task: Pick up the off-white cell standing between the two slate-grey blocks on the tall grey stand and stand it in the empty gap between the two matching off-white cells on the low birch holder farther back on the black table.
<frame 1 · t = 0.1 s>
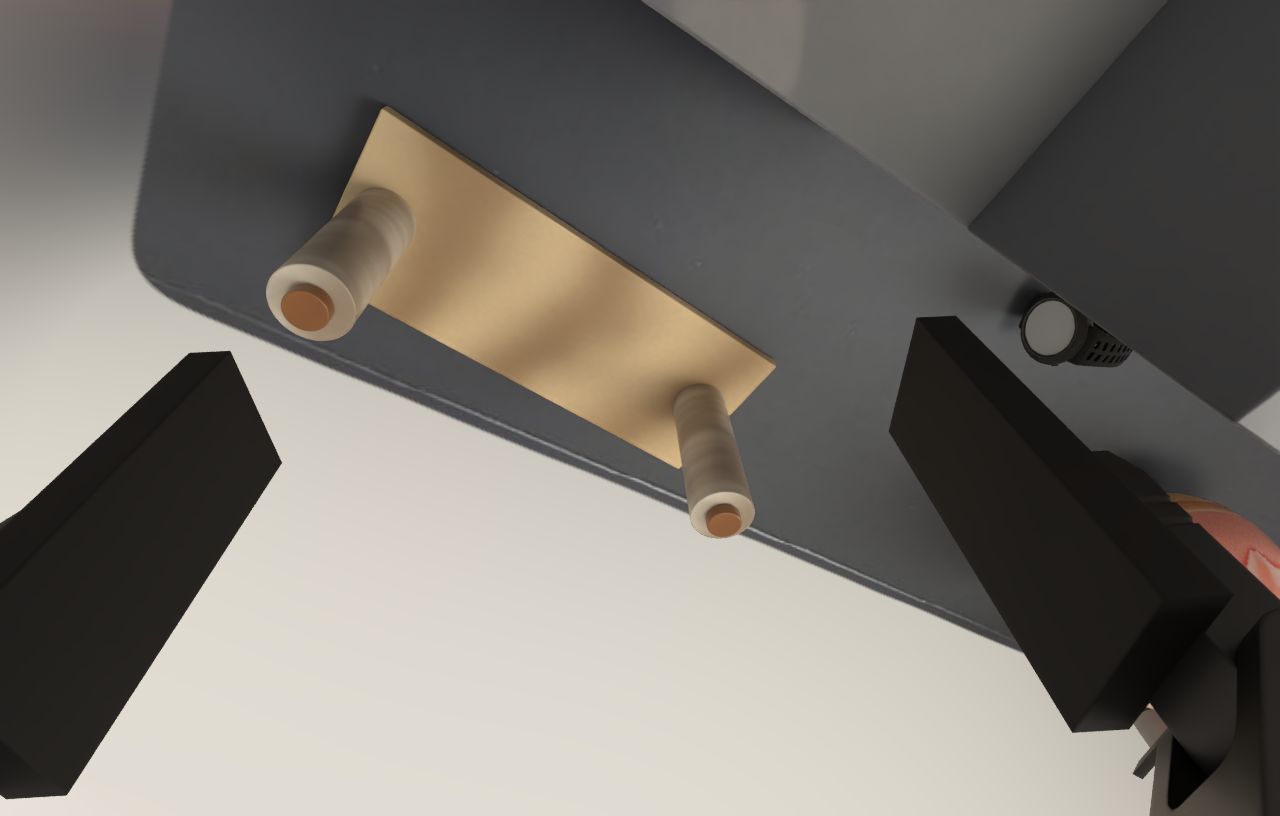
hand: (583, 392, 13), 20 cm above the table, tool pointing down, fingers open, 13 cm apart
smartwatch: (1044, 311, 35), on the table
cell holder: (558, 315, 34), on the table
battery: (1091, 635, 53), on the table
vase: (1094, 526, 46), on the table
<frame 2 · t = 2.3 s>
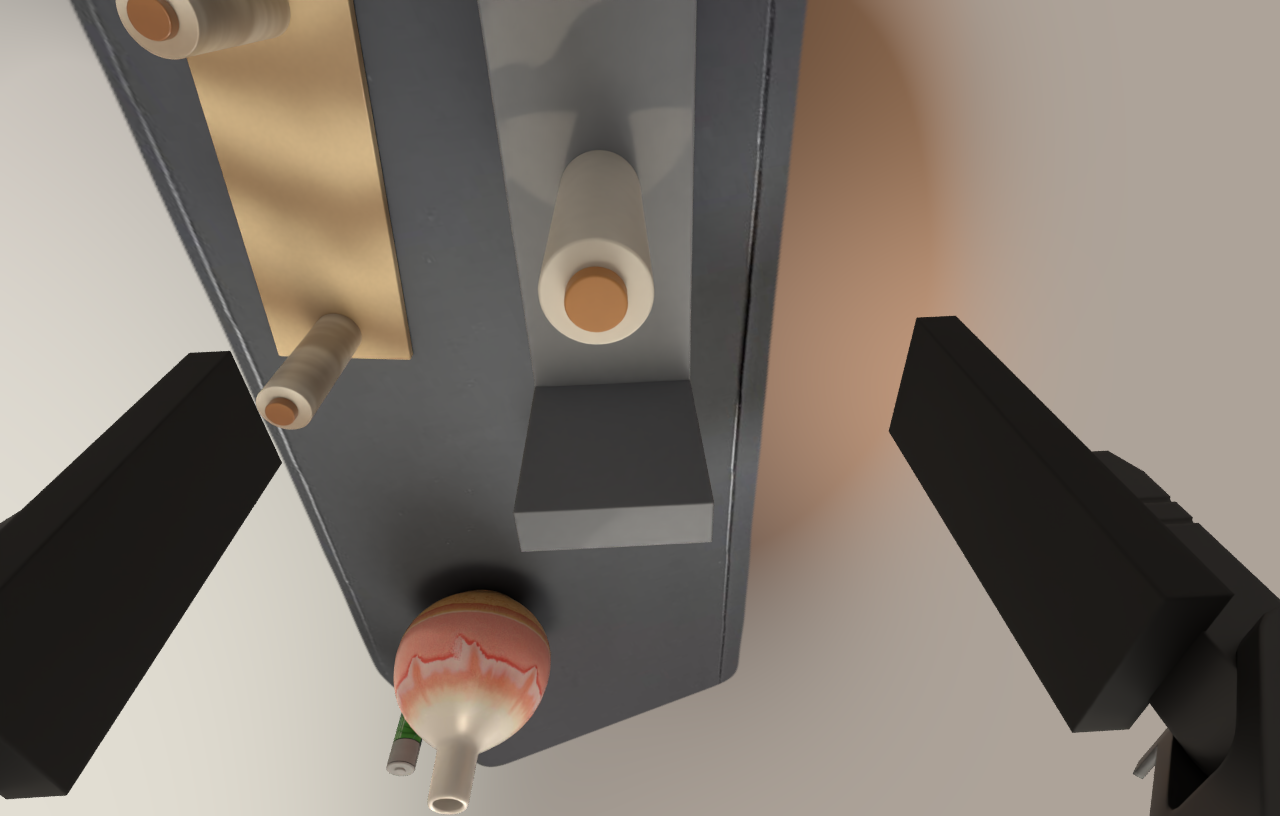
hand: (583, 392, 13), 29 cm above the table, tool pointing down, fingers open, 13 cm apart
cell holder: (310, 188, 39), on the table
battery: (423, 679, 69), on the table
grey stand: (603, 110, 37), on the table
white cell: (600, 191, 24), point 16 cm above the table, touching grey stand
vase: (485, 609, 62), on the table
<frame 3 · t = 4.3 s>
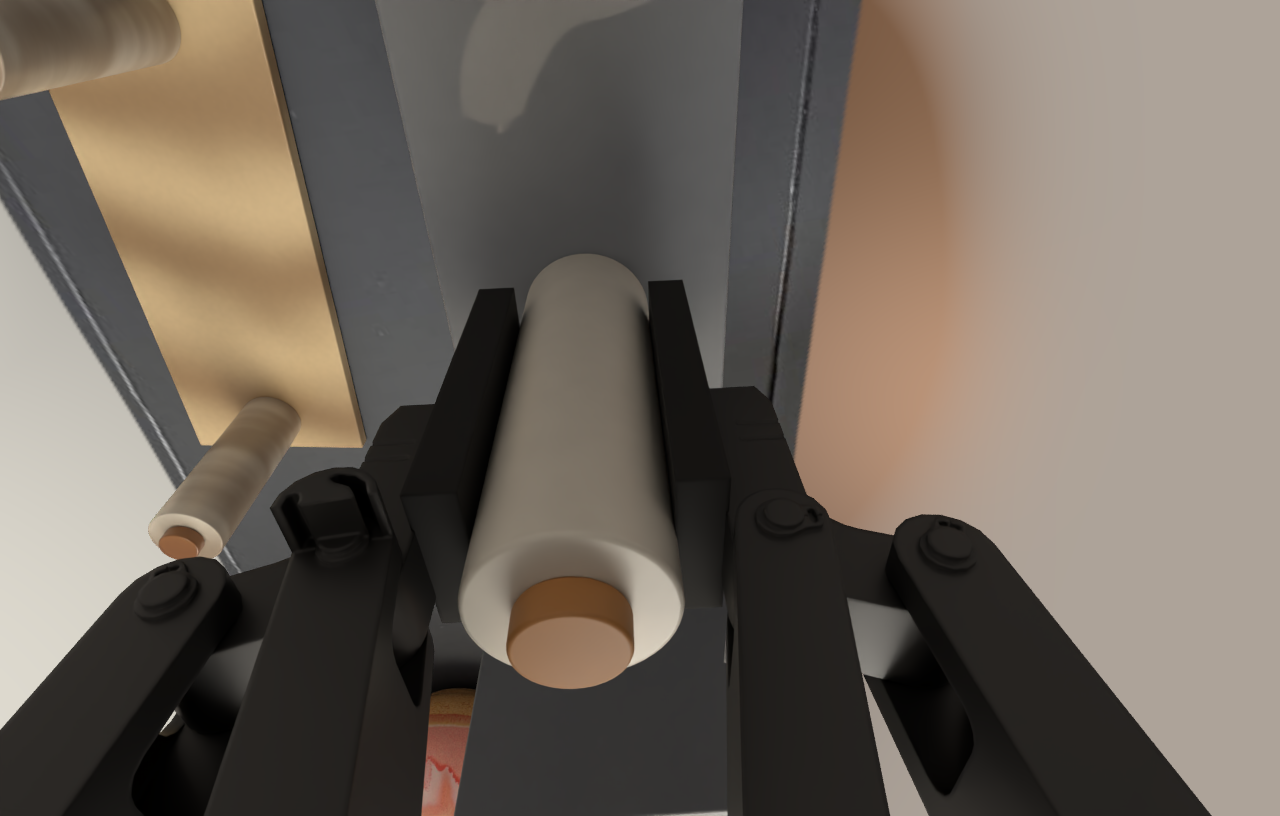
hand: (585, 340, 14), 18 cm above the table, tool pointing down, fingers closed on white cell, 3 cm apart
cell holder: (226, 249, 31), on the table
grey stand: (595, 153, 29), on the table
white cell: (587, 310, 16), point 16 cm above the table, touching grey stand, gripper
vase: (463, 705, 54), on the table
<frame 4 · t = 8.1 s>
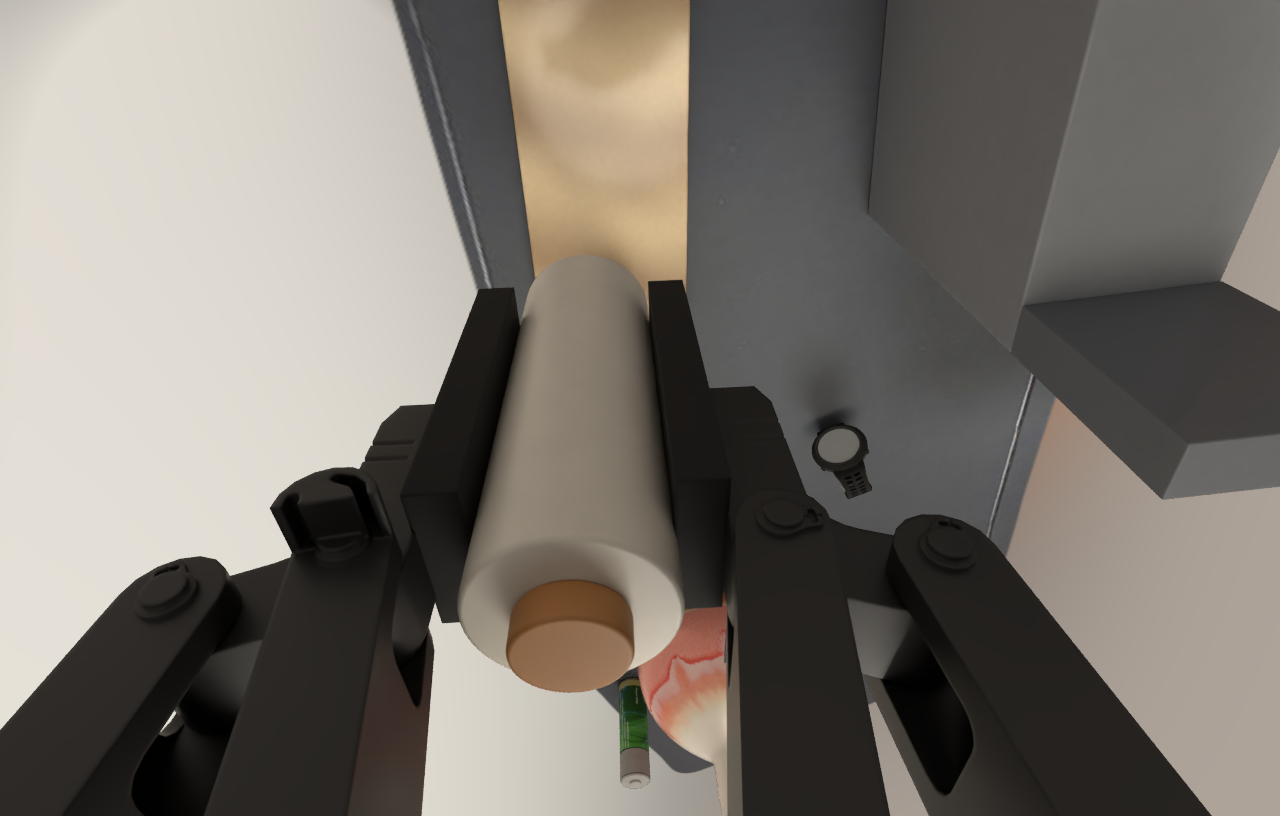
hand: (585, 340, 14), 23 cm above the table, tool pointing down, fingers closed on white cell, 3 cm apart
smartwatch: (829, 438, 47), on the table
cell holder: (602, 124, 33), on the table
battery: (632, 683, 64), on the table
white cell: (587, 311, 16), point 22 cm above the table, touching gripper
vase: (710, 603, 57), on the table
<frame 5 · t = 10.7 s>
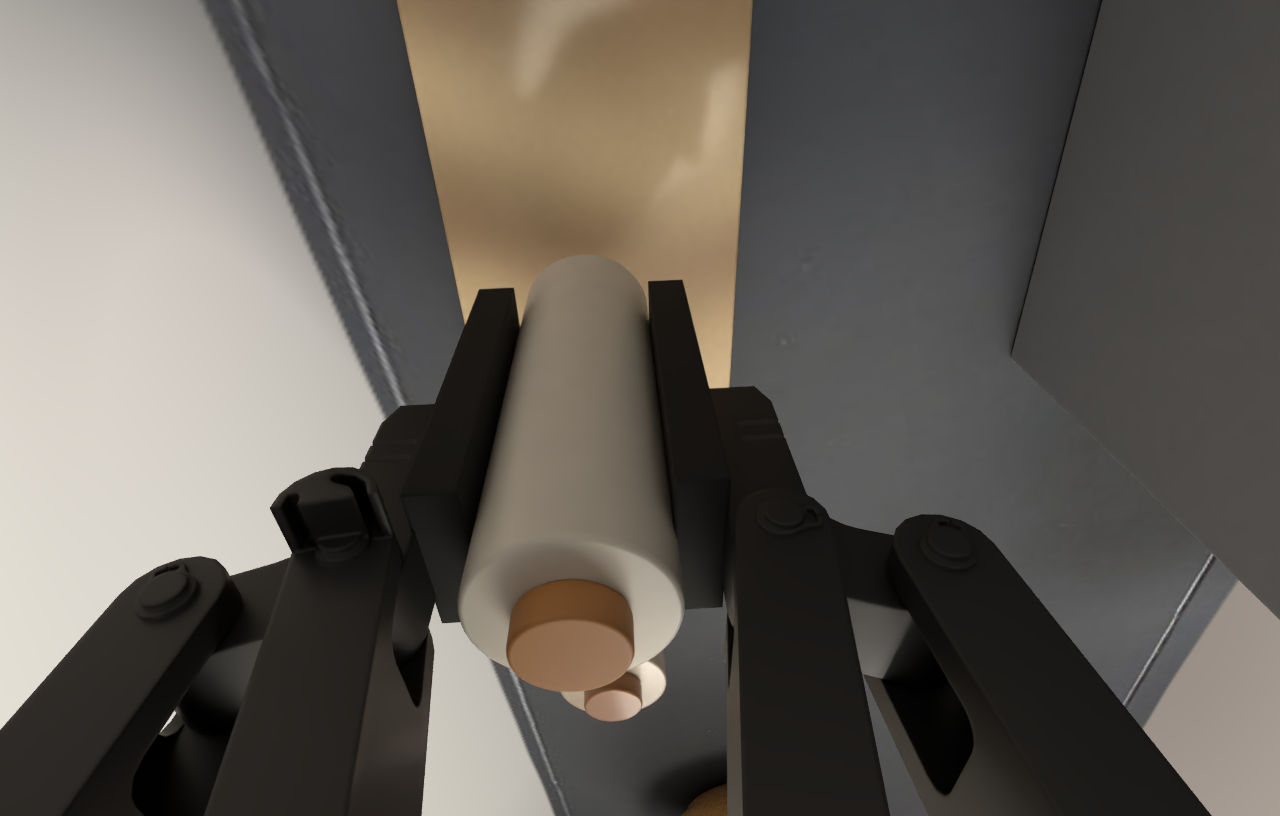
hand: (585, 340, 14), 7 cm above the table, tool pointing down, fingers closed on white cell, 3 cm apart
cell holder: (594, 231, 20), on the table
grey stand: (1220, 17, 18), on the table
white cell: (587, 311, 16), point 6 cm above the table, touching gripper
vase: (740, 798, 44), on the table
when the fingers open (2 cm above the table, at t = 12.1 s): white cell stays where it is, resting on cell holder.
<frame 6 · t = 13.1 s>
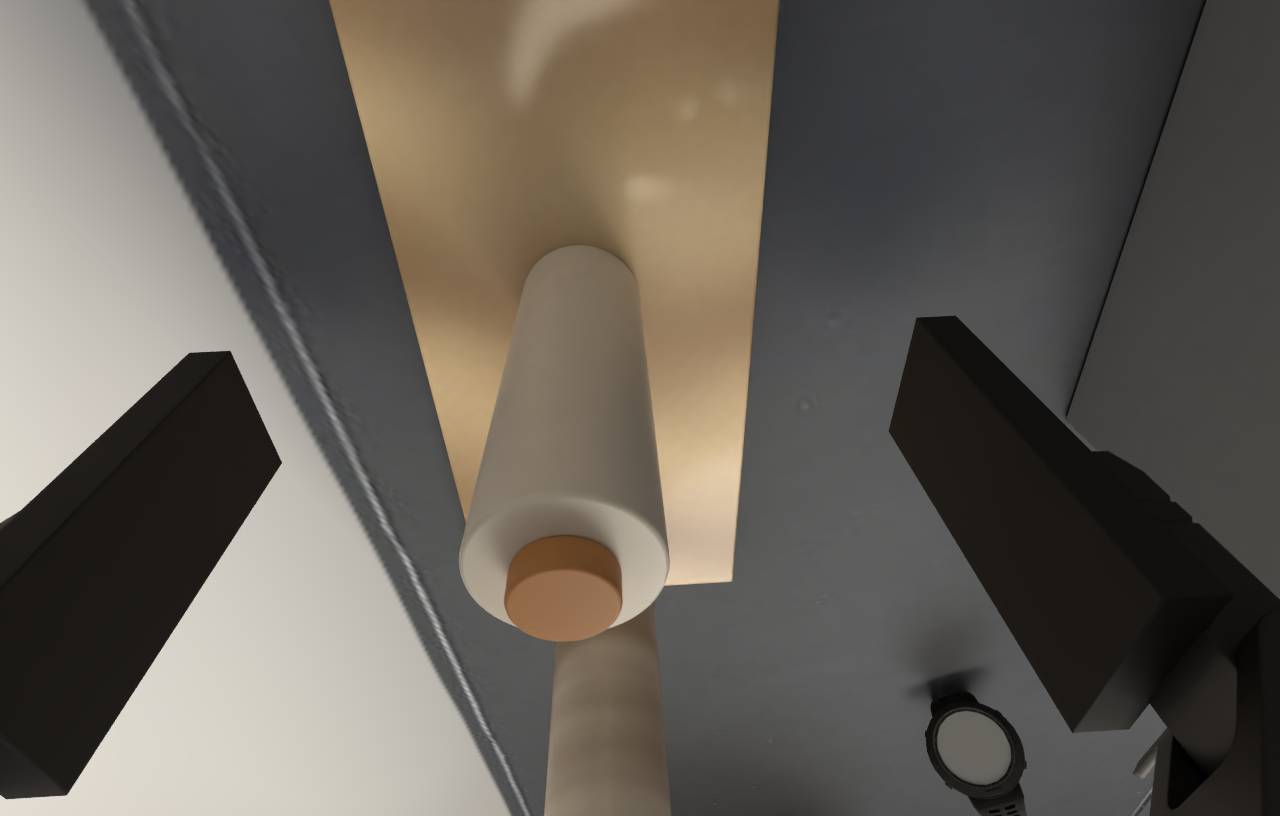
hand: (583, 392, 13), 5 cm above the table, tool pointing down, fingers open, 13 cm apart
smartwatch: (942, 699, 30), on the table
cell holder: (584, 285, 17), on the table
white cell: (581, 299, 16), point 1 cm above the table, touching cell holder
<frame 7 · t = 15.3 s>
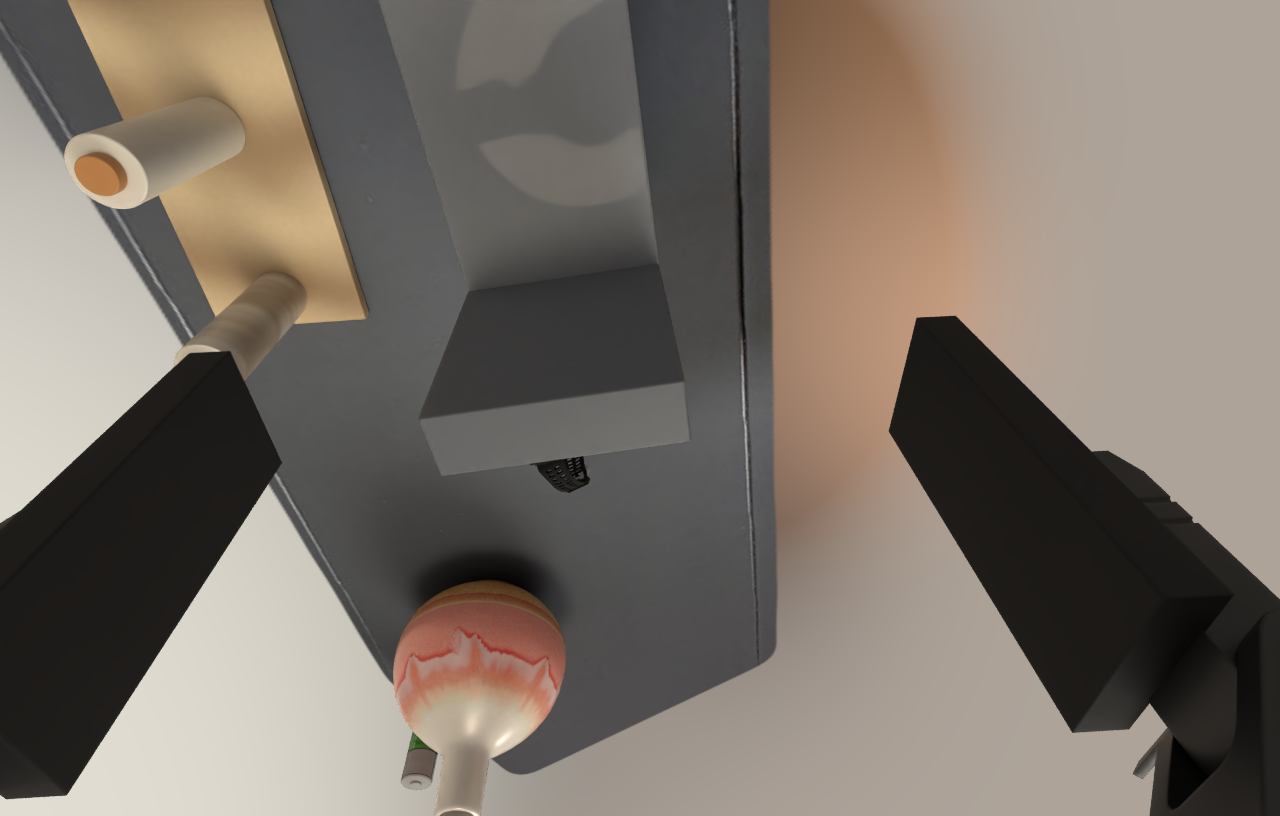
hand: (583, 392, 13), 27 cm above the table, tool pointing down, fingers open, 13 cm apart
smartwatch: (558, 433, 47), on the table
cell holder: (223, 124, 34), on the table
battery: (437, 684, 64), on the table
white cell: (215, 127, 33), point 1 cm above the table, touching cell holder
vase: (491, 601, 57), on the table
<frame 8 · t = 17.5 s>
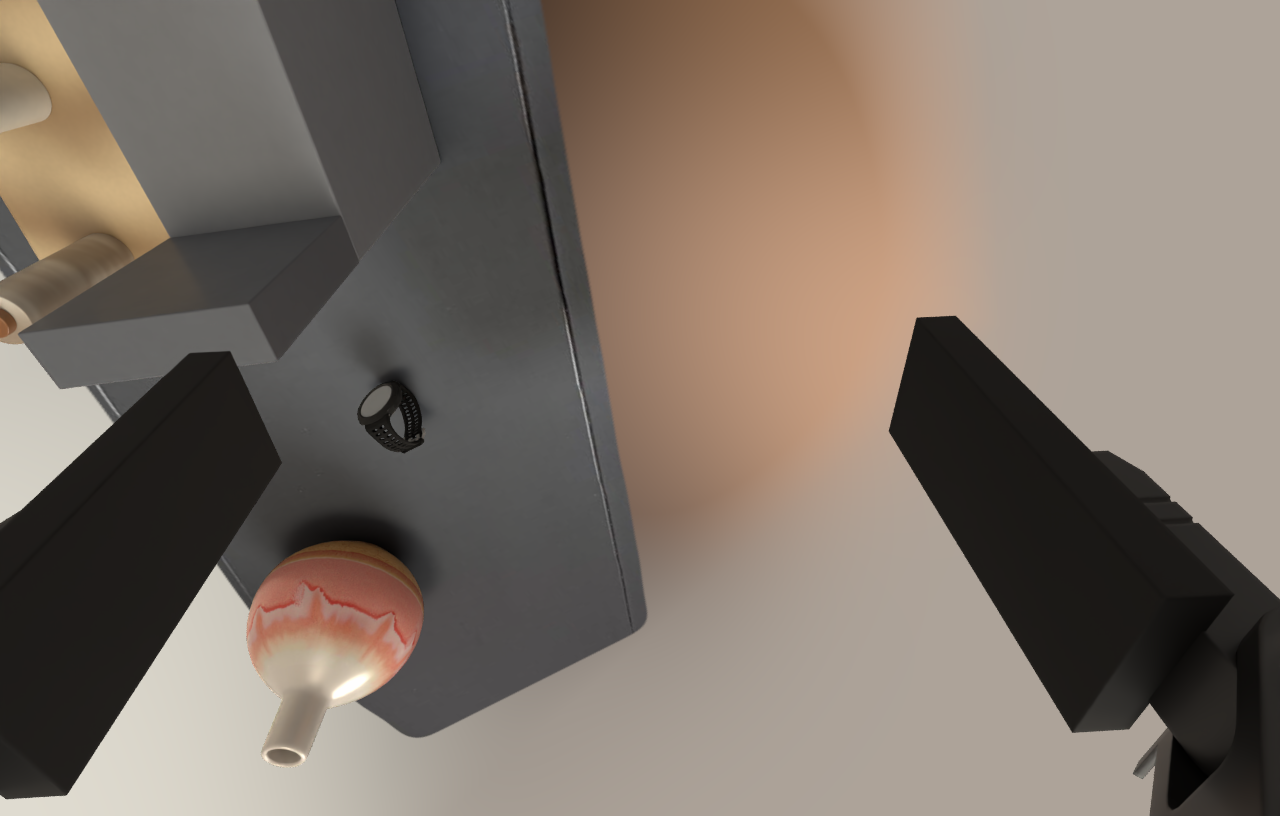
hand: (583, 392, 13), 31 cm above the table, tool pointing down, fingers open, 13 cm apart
smartwatch: (401, 397, 49), on the table
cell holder: (32, 90, 36), on the table
white cell: (21, 93, 35), point 1 cm above the table, touching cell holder
vase: (362, 563, 59), on the table
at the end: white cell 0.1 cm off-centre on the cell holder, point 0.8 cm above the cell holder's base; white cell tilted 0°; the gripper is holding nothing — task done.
